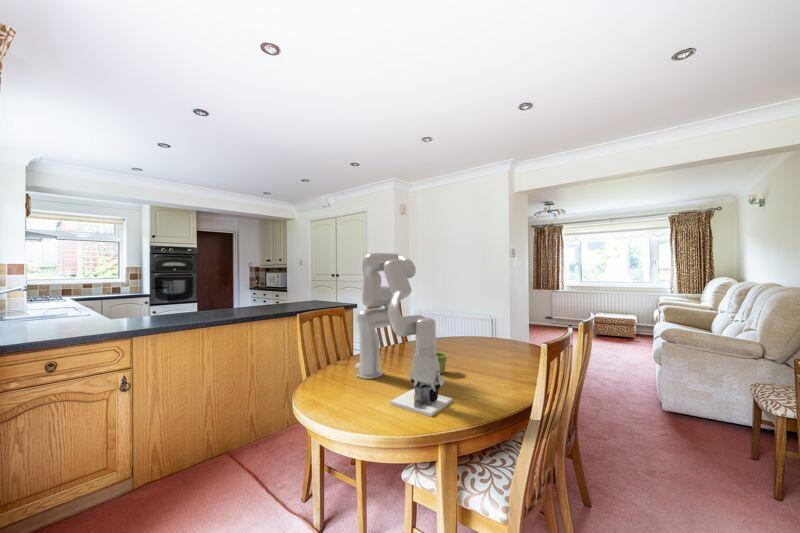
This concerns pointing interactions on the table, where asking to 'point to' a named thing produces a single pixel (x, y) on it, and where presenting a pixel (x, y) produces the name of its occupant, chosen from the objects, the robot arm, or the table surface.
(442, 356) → the plant pot
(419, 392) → the grey socket block
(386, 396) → the table surface
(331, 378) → the table surface
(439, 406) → the board
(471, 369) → the table surface
